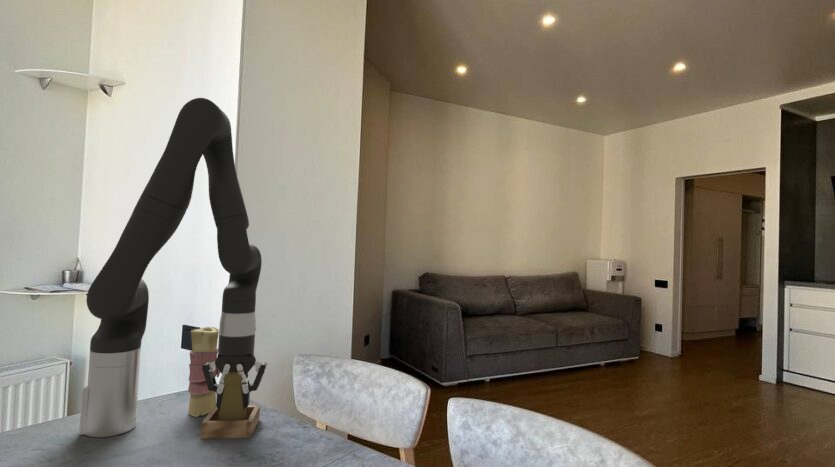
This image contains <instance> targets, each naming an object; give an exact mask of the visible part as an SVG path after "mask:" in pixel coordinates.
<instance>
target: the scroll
mask: <svg viewBox="0 0 835 467" xmlns="http://www.w3.org/2000/svg"><path fill="white" fill-rule="evenodd" d="M190 335H191V347H192V348H191V349H192V350H190V351H189V361H190V363H189V364H188V366H189V368H188V369H189V375H188V382H189V383H188V388H187V389H188V390H187V392H188V393H189V394H190V398H189V403H188V404H189V405H188V414H189V415H190V416H192V417H194V418H195V417H199V416H204V415H207V414H209V413H210V412H211V410H212V409H213V408H214V407H215V406H216V403H217V394H216V392H214V391H209V390H208V387H207V383H206V380H205V377H204V373H203V370H202V366H203V365H204V364H205V363H207V362H213V361H215V360H216V358H217V356H218V342H219V328H217V327H214V326H212V327H211V326H205V327H200V328H194V329H192V330H190ZM213 373H214V376H215V378H219V376H220V374H221V372H220V371H219V369H218V368H217V367H216V366H215V370H214V371H213Z"/></svg>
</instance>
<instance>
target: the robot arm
mask: <svg viewBox="0 0 835 467" xmlns="http://www.w3.org/2000/svg"><path fill="white" fill-rule="evenodd" d="M232 136H233V134H232V125H231V121H230V119H229V117H228V115H227V114H226V113H225V112H224V111H223V110H222V109H221V108H220V107H219V106H218V105H217V104H216V103H215V102H213V101H212V100H210V99H208V98H205V97H196V98H193V99H190V100H189V101H187V102H186V103H185V104H184V105H183V106H182V107H181V109H180V110H179V113H178V115H177V117H176V120H175V123H174V126H173V127H172V130H171V133H170V136H169V138H168V141H167V144H166V146H165V148H164V151H163V153H162V155H161V157H160V159H159V160H158V162H157V164H156V166H155V168H154V170H153V172H152V174H151V176H150V178H149V180H148V182H147V183H146V186H144V189H143V191H142V193H141V195H140V196H139V198H138V200H137V203H136V204H135V206H134V208H133V211H132V212H131V214H130V217H129V220H127V223H126V224H125V227H124V229H123V231H122V233H121V234H120V238H119V239H118V242H117V244H116V245H115V246H114V248H113V250H112V252H111V254H110V256H109V257H108V259H107V261H106V262H105V263H104V265H103V266H102V268H101V269H100V271H99V272H98V274H97V275H96V276H95V278H94V280H93V282H92V283H91V284H90V286H89V288H88V290H87V293H86V306H87V309H88V311H89V312H90V314H91V315H92V316H94V317H95V318H97V319H100V322H99V326H98V328H97V330H96V331H95V333H94V334H93V335H92V337H91V338H90V341H89V343H90V345H89V356H88V357H89V360H88V370H87V372H88V373H87V386H84V387H82V391H81V405H80V417H79V418H80V419H79V432H78V435H81V436H84V435H85V436H87V437H90V438H107V437H115V436H118V435H121V434H124V433H127V432H129V431H131V430H133V429H134V428H135V427H136V426H137V418H138V417H137V416H138V415H137V409H138V399H139V398H138V397H139V396H138V395H139V385H140V384H139V382H140V371H141V370H140V368H141V366H140V365H141V354H142V353H141V352H142V341H143V338H144V335H145V332H146V328H147V322H148V321H147V319H148V313H149V312H148V310H149V300H150V299H149V298H150V297H149V296H150V294H149V287H148V285H147V283H146V282H145V281H144V279H143V276H144V275H145V273H146V272H145V271H146V270H147V268H148V266H149V264H151V261H152V260H153V259H154V257H155V256H156V255H157V254H158V253H159V251H160V250H162V248H163V247H164V246H165V245H166V244H167V242H168V241H169V240H170V239H171V238H172V237H173V235H174V234H175V232H177V229H178V228H179V226H180V224H181V222H182V221H183V218H184V216H185V215H186V213H187V210H188V208H189V206H190V204H191V200H192V198H193V197H192V196H193V191H194V182H195V177H196V171H197V167H198V165H199V162H200V160H201V158H202V157H203V158H204V161H205V164H206V169H207V177H208V179H207V180H208V198H209V203H210V204H209V205H210V209H211V214H212V217H213V221H214V224H215V228H216V231H217V232H216V242H217V243H216V244H217V255H218V258H219V262H220V264H221V267H222V268H223V269H224V270H225V271H226V272H227V273H229V279H228V284H227V285H226V287H224V289H223V292H222V296H221V297H222V300H221V302H222V303H221V313H220V314H221V315H220V319H219V328H218V329H219V334H218V342H217V348H218V353H217V358H216V360H215V361H213V362H207V363H205V364H204V365H203V366H202V370H203V373H204V377H205V380H206V383H207V387H208V390H209V391H214V392H215V394H216V406H217V408H219V411H220V407H221V402H222V397H223V389H224V386H225V385H224V379H223V378H224V376H225V375H226V374H228V373H229V372H230V371H238V373H239V374H240V375H241V374H242V375H241V376H242V378H243V379H242V382H241V384H242V389H243V394H242V401H243V410H245V408H247V407H248V406H250V400H251V399H250V398H251V397H250V396H251V392H256V391H257V390H258V388H259V386H260V385H261V382H262V380H263V377H264V375H265V373H266V372H265V371H266V369H267V366H268V363H267V362H266V361H265V362H261V361H257V359H256V357H255V343H256V342H255V340H256V339H255V338H256V330H257V326H256V324H257V323H256V322H257V321H256V304H257V302H256V301H257V288H258V284H259V281H260V276H261V270H262V262H263V261H262V254H261V251H260V249H259V248H258V247H257V246H255V245H254V244H252V243H250V241H249V236H248V231H247V230H248V228H249V226H250V220H249V216H248V212H247V208H246V205H245V201H244V198H243V193H242V189H241V186H240V182H239V178H238V175H237V174H238V173H237V169H236V164H235V157H234V149H233V137H232ZM215 366H216V367H217V368H218V369H219V371H220V374H221V376H220V379H219V380H218V381H219V382H218V383H217V380H216V377H215V376H214V373H213V371H214V370H215ZM253 367H255V369H254V370H255V372H256V373H257V374H256V376H255V378H254V381H253V383H251V382H250V374H249V372H250V371H251V370H252V368H253ZM246 374H247V378H246Z"/></svg>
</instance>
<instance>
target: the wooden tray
mask: <svg viewBox="0 0 835 467" xmlns="http://www.w3.org/2000/svg"><path fill="white" fill-rule="evenodd" d="M260 410H261V405H260V404H259V405H248V407H247V408H246V415H247V419H246V420H229V421H217V420H218V415H219V408H217V406H215V407H214V408H213V409H212V410H211V412H209V413H207V414H208V415H207V414H206V417H205V418H204V419H203V420H202V422H201V429H200V430H201V431H200V439H201V440H202V439H203V440H204V439H205V440H207V439H241V438H242V439H243V438H244V439H249V438H252V437H253V436H252V435H253V433H254V432H255V429H256V427H257V425H258V423H259V421H260V415H261V411H260Z"/></svg>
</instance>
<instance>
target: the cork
mask: <svg viewBox="0 0 835 467" xmlns="http://www.w3.org/2000/svg"><path fill="white" fill-rule="evenodd" d="M241 375H242V374H241ZM241 375H240V374H239V373H238V371H230V372H229V373H228V374H226V375H225V376H224V378H223V379H224V385H225V386H224V389H223V397H222V402H221V407H220V411H219V415H218V420H217V421H229V420H246V419H247V415H246V408H245V410H243V401H242V394H243V389H242V384H241V382H242V379H243V378H242V376H241ZM246 378H247V374H246Z"/></svg>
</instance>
